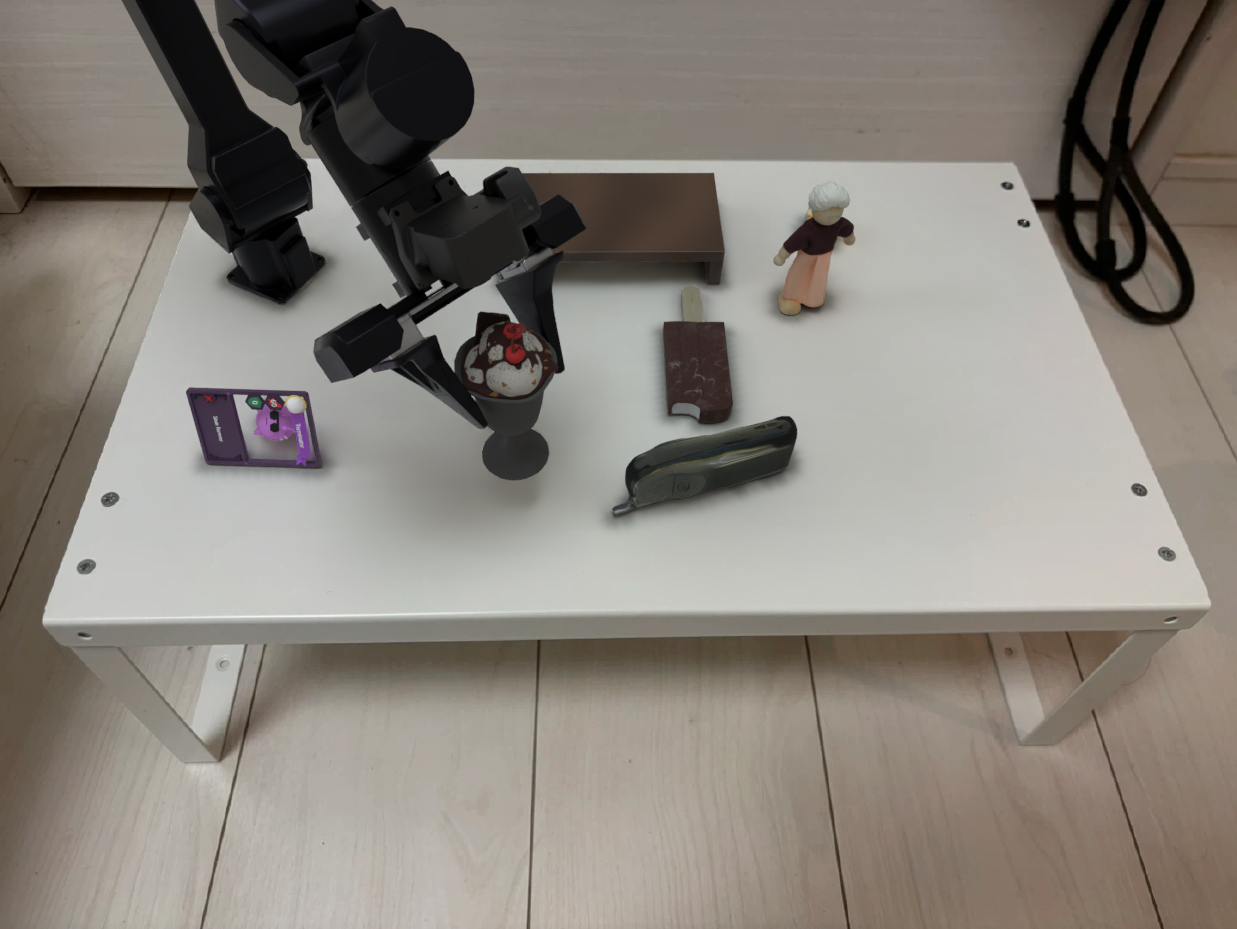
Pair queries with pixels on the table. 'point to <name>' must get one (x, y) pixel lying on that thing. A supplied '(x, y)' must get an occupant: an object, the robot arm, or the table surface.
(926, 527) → the table surface
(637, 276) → the table surface
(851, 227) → the grandmother figurine
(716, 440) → the swiss army knife
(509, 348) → the sundae
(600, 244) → the shelf
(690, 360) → the ice cream bar
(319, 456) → the game card
